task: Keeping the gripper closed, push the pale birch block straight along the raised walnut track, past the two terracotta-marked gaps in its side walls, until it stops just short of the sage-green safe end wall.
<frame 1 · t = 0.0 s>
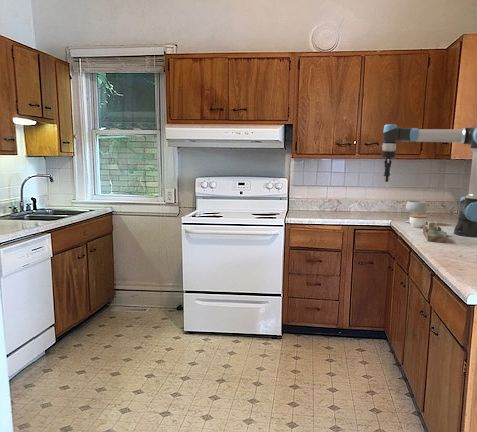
hand: (385, 186, 255), 28 cm above the worktop, tool pointing down, fingers open, 13 cm apart
birch block: (432, 229, 254), point 3 cm above the worktop, touching two-trap track
two-trap track: (433, 237, 246), on the worktop
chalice: (415, 223, 297), on the worktop
lidded jar: (417, 227, 280), on the worktop
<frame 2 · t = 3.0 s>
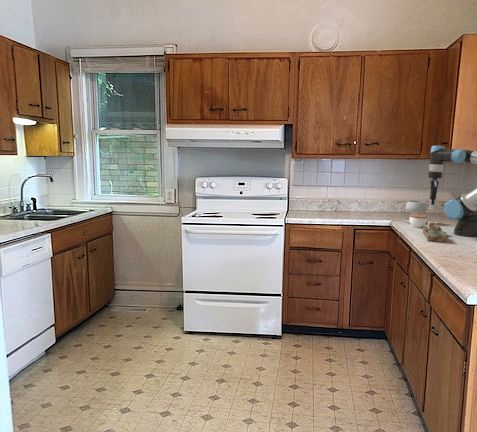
hand: (431, 209, 261), 14 cm above the worktop, tool pointing down, fingers closed
nothing on the worktop moved.
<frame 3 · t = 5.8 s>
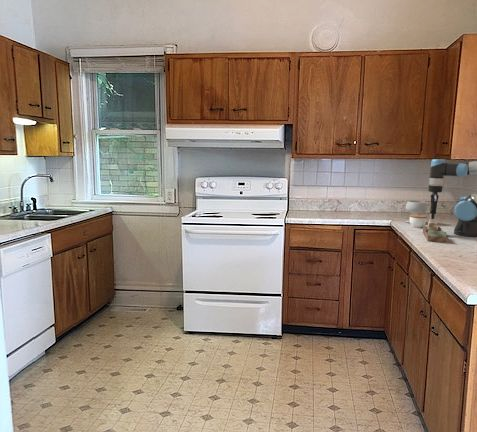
hand: (431, 224, 256), 6 cm above the worktop, tool pointing down, fingers closed
birch block: (432, 229, 253), point 3 cm above the worktop, touching gripper
everything else where it was.
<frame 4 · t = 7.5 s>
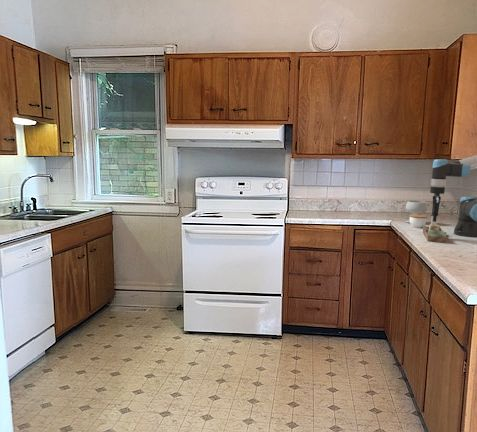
hand: (433, 226, 246), 6 cm above the worktop, tool pointing down, fingers closed
birch block: (433, 232, 244), point 3 cm above the worktop, touching gripper
everything else where it was.
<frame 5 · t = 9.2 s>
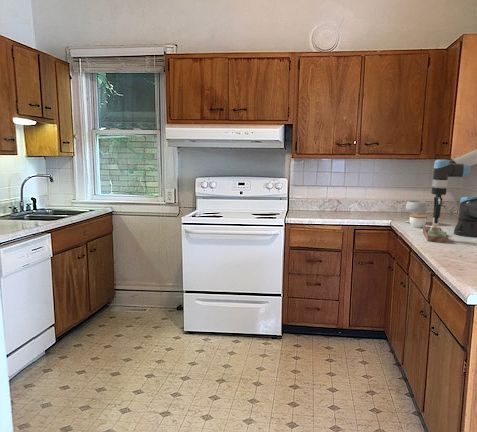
hand: (435, 228, 241), 6 cm above the worktop, tool pointing down, fingers closed
birch block: (434, 234, 239), point 3 cm above the worktop, touching gripper, two-trap track
everything else where it was.
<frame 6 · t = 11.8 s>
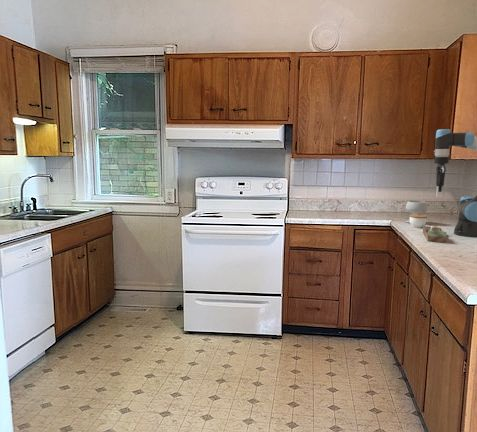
hand: (439, 197, 247), 23 cm above the worktop, tool pointing down, fingers closed
birch block: (434, 234, 239), point 3 cm above the worktop, touching two-trap track
everything else where it was.
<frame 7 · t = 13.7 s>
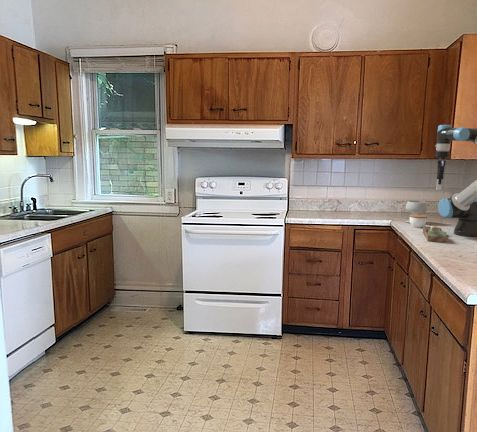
hand: (438, 189, 260), 26 cm above the worktop, tool pointing down, fingers closed
nothing on the worktop moved.
at the end: birch block 1.3 cm from the target spot, point 3.0 cm above the worktop; birch block tilted 0°; birch block moved 16.7 cm from its start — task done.
